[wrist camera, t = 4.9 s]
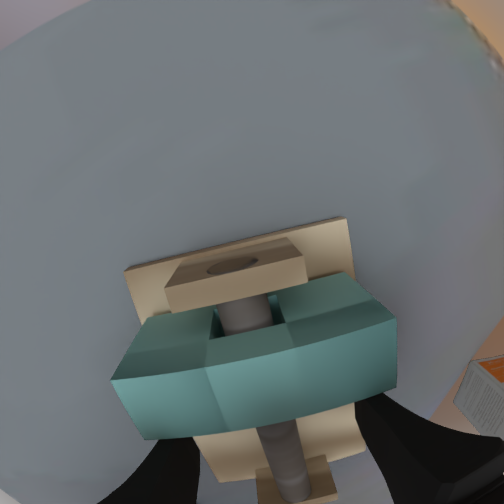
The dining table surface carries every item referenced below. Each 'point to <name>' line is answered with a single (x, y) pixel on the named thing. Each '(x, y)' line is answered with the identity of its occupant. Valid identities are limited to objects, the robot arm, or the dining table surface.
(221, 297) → the pipe jig
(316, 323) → the collar
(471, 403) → the skincare box
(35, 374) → the dining table surface
